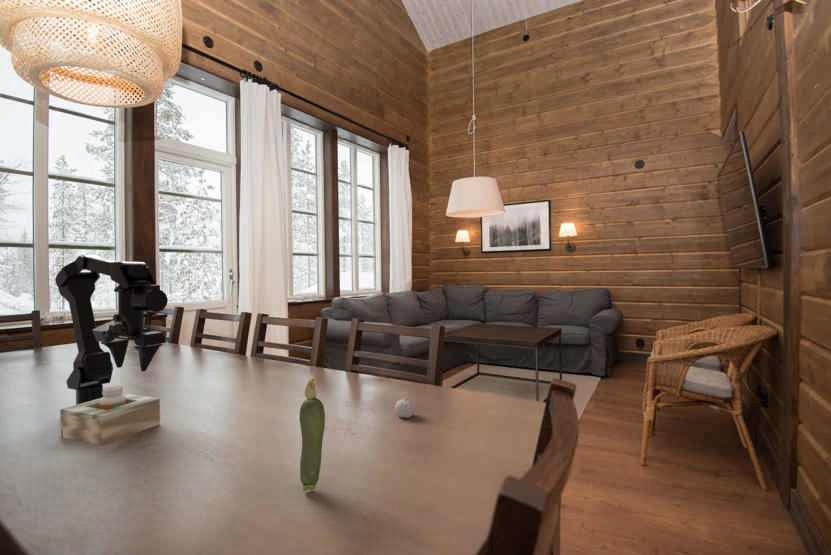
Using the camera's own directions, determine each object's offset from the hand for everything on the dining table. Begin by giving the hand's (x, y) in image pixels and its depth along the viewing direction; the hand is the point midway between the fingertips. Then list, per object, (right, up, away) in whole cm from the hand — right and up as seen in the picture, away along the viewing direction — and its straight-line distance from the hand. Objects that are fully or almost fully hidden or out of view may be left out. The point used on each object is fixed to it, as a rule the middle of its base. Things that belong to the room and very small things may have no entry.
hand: (131, 369), depth 113 cm
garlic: (+72, -13, +1) cm, 73 cm away
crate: (+1, -13, -9) cm, 16 cm away
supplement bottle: (+1, -13, -9) cm, 15 cm away
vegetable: (+56, -14, -37) cm, 69 cm away
